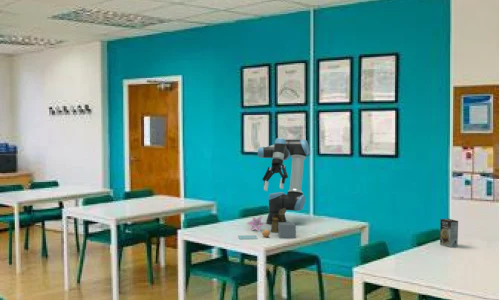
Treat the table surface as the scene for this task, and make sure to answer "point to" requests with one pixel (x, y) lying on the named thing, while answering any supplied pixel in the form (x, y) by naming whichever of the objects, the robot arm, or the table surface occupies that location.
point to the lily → (256, 223)
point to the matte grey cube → (286, 229)
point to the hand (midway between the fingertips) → (273, 189)
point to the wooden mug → (277, 220)
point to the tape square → (247, 237)
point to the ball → (265, 233)
